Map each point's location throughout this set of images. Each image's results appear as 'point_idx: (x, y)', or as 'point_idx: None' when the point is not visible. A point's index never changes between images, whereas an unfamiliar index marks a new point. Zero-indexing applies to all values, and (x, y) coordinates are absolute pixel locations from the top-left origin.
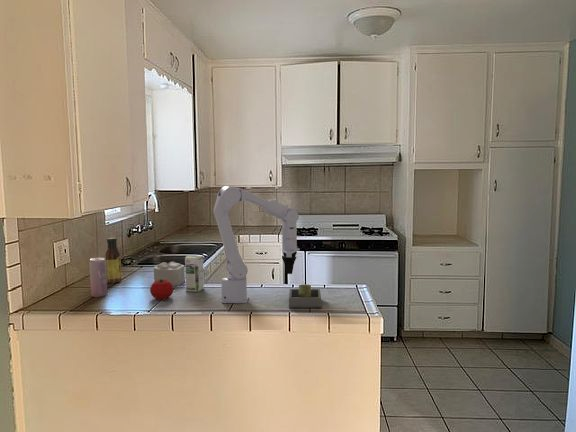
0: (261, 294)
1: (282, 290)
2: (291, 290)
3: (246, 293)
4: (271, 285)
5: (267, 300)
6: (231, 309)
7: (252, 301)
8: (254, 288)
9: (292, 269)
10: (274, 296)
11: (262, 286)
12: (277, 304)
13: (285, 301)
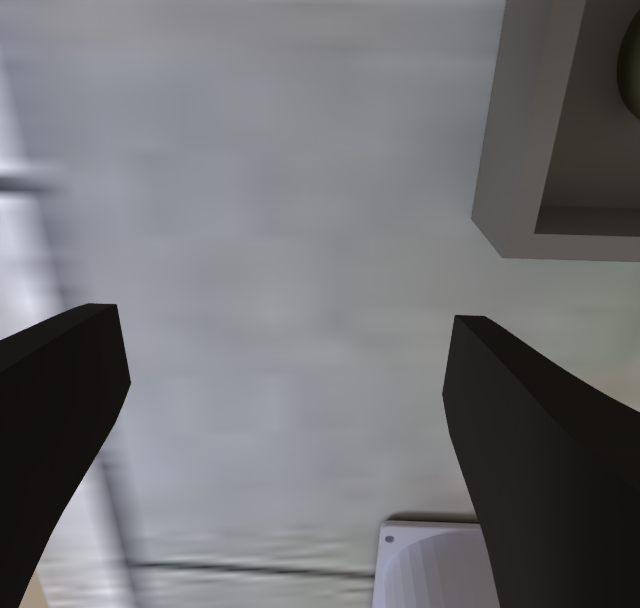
0: (309, 446)
1: (174, 290)
2: (574, 238)
3: (474, 573)
4: None
5: None
6: None
7: None
8: (144, 495)
9: (531, 355)
10: (371, 354)
11: None
12: (614, 326)
13: (541, 260)
